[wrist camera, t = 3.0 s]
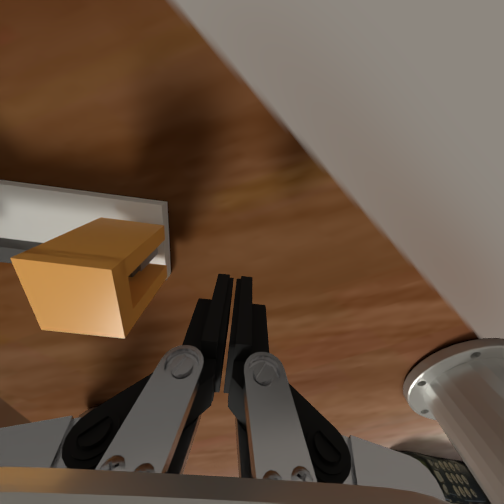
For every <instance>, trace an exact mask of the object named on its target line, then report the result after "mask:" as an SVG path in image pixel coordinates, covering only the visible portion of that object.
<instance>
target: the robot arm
mask: <svg viewBox="0 0 504 504" xmlns="http://www.w3.org/2000/svg"><path fill="white" fill-rule="evenodd" d="M229 277H230V275H226V274H218V278H217V282H216V286H215V289H214V293H213V297H212V300H210V299H200V298H199V300H198V302H197V305H196V308H195V310H194V313H193V316H192V319H191V322H190V325H189V328H188V330H187V333H186V336H185V339H184V342H183V345H181V346H177V347H175V348H172V349H171V350H170V351H168V352H167V353H166V354H165V355H164V356H163V358H162V359H161V361H160V362H159V364H158V366H157V367H156V369H155V371H154V372H153V373H152V374H150V375H148V376H147V377H145V378H143V379H142V380H140V381H139V382H137V383H135V384H134V385H132V386H130V387H129V388H127V389H126V390H124V391H122V392H121V393H119V394H117V395H116V396H114V397H113V398H111V399H109V400H108V401H106V402H104V403H103V404H101V405H99V406H98V407H96V408H95V409H93V410H91V411H90V412H88V413H87V414H86V415H84V416H83V417H80V418H75V419H74V418H73V416H68V417H62V418H56V419H50V420H45V421H39V422H33V423H28V424H22V425H16V426H11V427H5V428H0V504H452V503H450V502H447V501H446V500H445V497H444V495H443V492H442V490H441V488H440V486H439V484H438V482H437V480H436V479H435V477H434V476H433V475H432V474H431V472H430V471H429V470H428V468H426V467H425V466H424V465H423V464H422V463H421V462H420V461H419V460H417V459H415V458H413V457H411V456H409V455H406V454H403V453H401V452H398V451H395V450H392V449H389V448H386V447H383V446H380V445H378V444H375V443H372V442H369V441H366V440H363V439H360V438H358V437H355V436H352V435H350V436H349V438H348V437H346V436H343V435H341V434H340V433H339V432H338V430H337V429H336V428H335V427H334V426H333V425H332V424H331V423H330V422H329V421H328V420H326V419H325V418H324V417H323V416H322V415H321V414H320V413H319V412H318V411H317V410H316V409H315V408H314V407H313V406H312V405H311V404H310V403H309V402H308V401H307V400H306V399H305V398H304V397H303V396H302V395H301V394H299V393H298V392H297V391H296V390H295V389H294V388H293V387H292V386H291V385H290V384H289V383H288V380H287V377H286V373H285V370H284V367H283V365H282V363H281V362H280V360H279V359H278V358H277V357H275V356H274V355H272V354H270V353H269V344H268V332H267V319H266V307H265V305H259V304H252V277H245V276H241V279H237V282H236V291H235V299H234V308H233V316H232V325H231V333H230V342H229V351H228V359H227V368H226V376H225V385H224V393H229V396H228V407H229V409H230V410H231V411H232V412H233V414H234V415H235V416H236V418H235V424H236V440H237V455H238V471H239V478H238V477H220V476H202V475H184V474H183V471H184V468H185V465H186V462H187V459H188V456H189V453H190V450H191V447H192V443H193V440H194V437H195V434H196V431H197V428H198V425H199V422H200V419H201V414H202V413H203V412H204V411H205V410H206V409H207V408H209V407H210V406H211V403H212V401H213V397H214V392H219V391H220V384H221V376H222V369H223V362H224V354H225V347H226V339H227V332H228V324H229V316H230V306H231V297H232V288H233V278H229ZM403 394H404V397H405V398H406V400H407V402H408V404H409V406H410V407H411V408H412V409H413V411H415V412H416V413H417V414H419V415H421V416H424V417H426V418H430V419H434V420H437V422H438V423H439V425H440V426H441V428H442V429H443V431H444V432H445V434H446V435H447V437H448V438H449V440H450V441H451V443H452V444H453V446H454V447H455V449H456V450H457V452H458V453H459V455H460V457H461V458H462V460H463V461H464V463H465V464H466V466H467V467H468V469H469V470H470V472H471V473H472V475H473V476H474V478H475V479H476V481H477V482H478V484H479V485H480V487H481V488H482V490H483V491H484V493H485V494H486V496H487V497H488V499H489V501H490V502H491V504H504V339H499V338H488V339H477V340H470V341H466V342H462V343H458V344H455V345H452V346H449V347H447V348H444V349H442V350H440V351H438V352H436V353H434V354H432V355H430V356H429V357H427V358H426V359H424V360H422V361H421V362H420V363H419V364H418V365H417V366H415V367H414V368H413V369H412V371H411V372H410V373H409V374H408V376H407V378H406V380H405V382H404V386H403Z"/></svg>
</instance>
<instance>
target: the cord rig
mask: <svg viewBox="0 0 504 504" xmlns="http://www.w3.org/2000/svg"><path fill="white" fill-rule="evenodd" d="M100 217H103V218H110V219H118V220H126V221H134V222H142V223H150V224H157V225H164V231H165V240H164V241H163V242H162V243H161V244H160V245H159V246H158V247H157V248H156V249H155V250H154V251H153V252H152V253H151V254H150V255H149V256H148V257H147V258H146V259H145V260H144V261H143V262H142V263H141V264H140V265H139V266H138V267H137V268H136V269H135V270H134V271H133V272H132V273H131V274H130V275H129V276H128V277H134V275H135V274H136V273H137V272H138V271H142V270H143V269H144V268H145V267H146V266H147V265H148V264H149V263H151V264H160V265H167V278H168V277H169V275H170V274H171V262H170V243H169V223H168V204H167V202H166V201H158V200H151V199H143V198H135V197H128V196H120V195H113V194H105V193H98V192H90V191H82V190H75V189H67V188H60V187H52V186H45V185H37V184H29V183H22V182H14V181H7V180H0V262H7V263H12V261H11V259H10V258H11V257H13V256H15V255H18V254H20V253H22V252H24V251H27V250H29V249H31V248H33V247H36V246H38V245H40V244H42V243H45V242H47V241H49V240H51V239H53V238H56V237H58V236H60V235H62V234H65V233H67V232H69V231H71V230H74V229H76V228H78V227H80V226H82V225H85V224H87V223H89V222H91V221H94V220H96V219H98V218H100ZM167 278H166V280H167Z"/></svg>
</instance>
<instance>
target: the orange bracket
mask: <svg viewBox="0 0 504 504" xmlns="http://www.w3.org/2000/svg"><path fill="white" fill-rule="evenodd" d="M164 240H165V231H164V225H157V224H150V223H142V222H134V221H126V220H118V219H110V218H103V217H100V218H98V219H96V220H94V221H91V222H89V223H87V224H85V225H82V226H80V227H78V228H76V229H74V230H71V231H69V232H67V233H65V234H62V235H60V236H58V237H56V238H53V239H51V240H49V241H47V242H45V243H42V244H40V245H38V246H36V247H33V248H31V249H29V250H27V251H24V252H22V253H20V254H18V255H15V256H13V257H11V258H10V259H11V261H12V264H13V266H14V268H15V270H16V273H17V275H18V277H19V280H20V282H21V284H22V286H23V289H24V291H25V293H26V295H27V298H28V300H29V302H30V305H31V307H32V309H33V311H34V314H35V316H36V318H37V321H38V323H39V325H40V327H41V330H49V331H58V332H68V333H77V334H86V335H96V336H105V337H115V338H124V339H125V338H126V336H127V335H128V333H129V332H130V331H131V329H132V328H133V326H134V325H135V323H136V322H137V320H138V319H139V317H140V316H141V315H142V313H143V312H144V310H145V309H146V307H147V306H148V304H149V303H150V302H151V300H152V299H153V297H154V296H155V294H156V293H157V291H158V290H159V288H160V287H161V286H162V284H163V283H164V281H165V280H166V278H167V265H160V264H151V263H149V264H148V265H147V266H146V267H145V268H144V269H143V270H142V271H138V272H137V273H136V274H135V275H134V277H128V276H129V275H130V274H131V273H132V272H133V271H134V270H135V269H136V268H137V267H138V266H139V265H140V264H141V263H142V262H143V261H144V260H145V259H146V258H147V257H148V256H149V255H150V254H151V253H152V252H153V251H154V250H155V249H156V248H157V247H158V246H159V245H160V244H161V243H162V242H163V241H164Z"/></svg>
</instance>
